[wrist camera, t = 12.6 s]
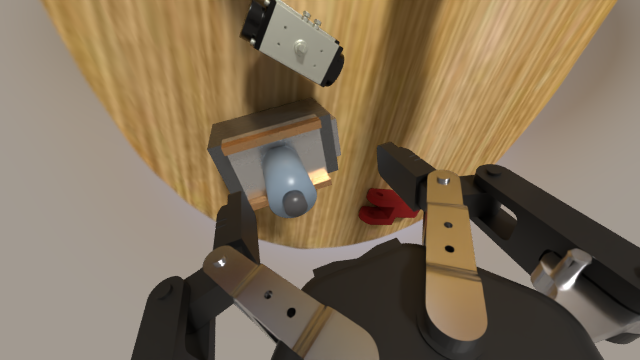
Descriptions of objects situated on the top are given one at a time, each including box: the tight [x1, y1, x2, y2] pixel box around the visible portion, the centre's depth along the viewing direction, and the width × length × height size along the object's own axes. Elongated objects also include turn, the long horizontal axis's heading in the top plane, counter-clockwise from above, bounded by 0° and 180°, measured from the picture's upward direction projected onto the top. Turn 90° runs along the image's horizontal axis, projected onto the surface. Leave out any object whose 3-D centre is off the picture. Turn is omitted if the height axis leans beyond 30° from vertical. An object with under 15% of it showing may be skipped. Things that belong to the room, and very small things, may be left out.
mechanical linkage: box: [359, 188, 420, 225], centre depth 57 cm, size 16×7×5 cm, turn 74°
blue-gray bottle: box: [262, 146, 317, 218], centre depth 27 cm, size 5×5×10 cm
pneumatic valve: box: [239, 0, 344, 87], centre depth 29 cm, size 6×12×12 cm, turn 61°
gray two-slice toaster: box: [207, 98, 341, 211], centre depth 35 cm, size 17×10×13 cm, turn 101°
